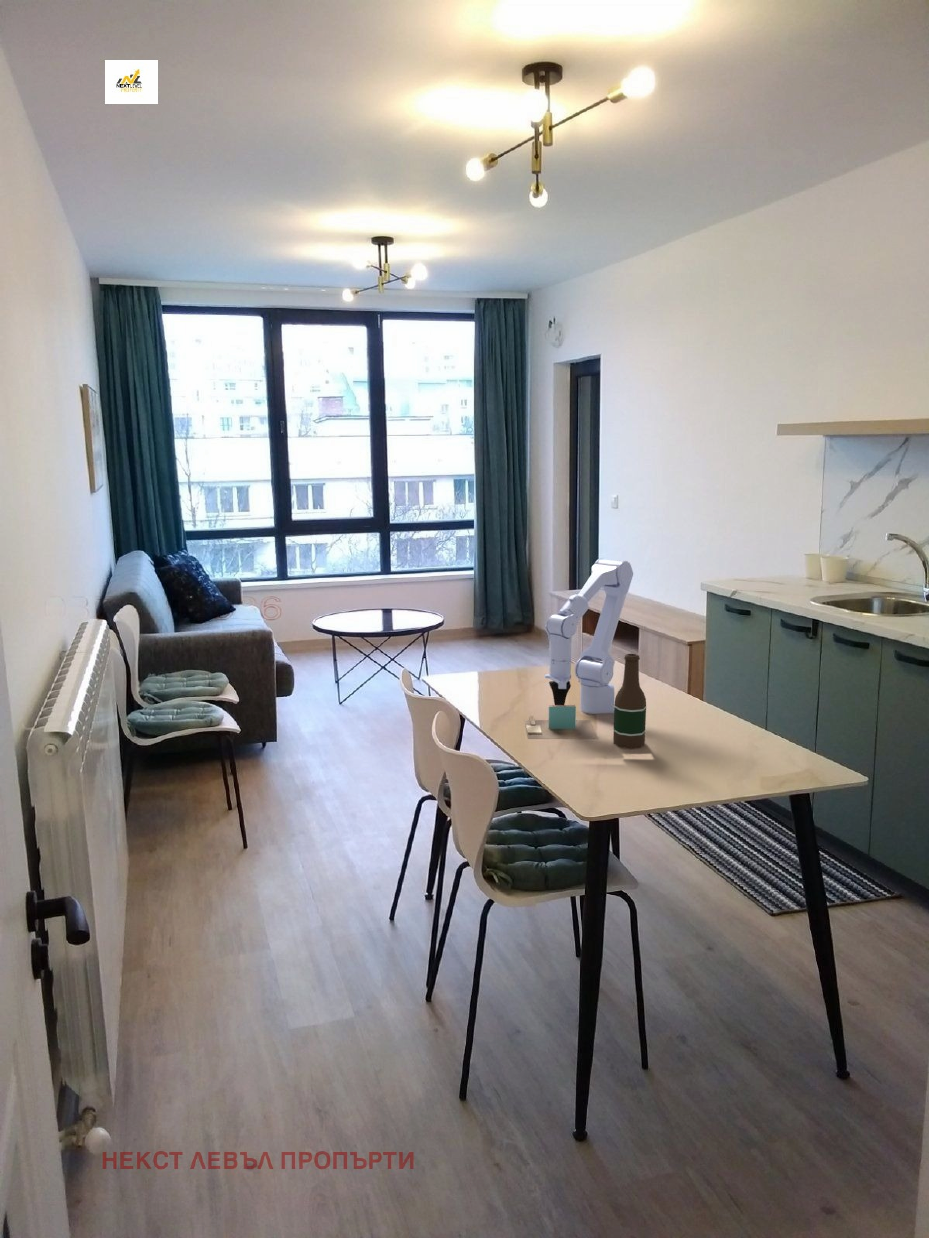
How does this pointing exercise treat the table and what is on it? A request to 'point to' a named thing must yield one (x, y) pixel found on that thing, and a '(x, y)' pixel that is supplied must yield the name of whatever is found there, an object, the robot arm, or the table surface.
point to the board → (564, 731)
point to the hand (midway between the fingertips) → (559, 708)
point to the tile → (561, 716)
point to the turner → (533, 727)
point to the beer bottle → (630, 708)
